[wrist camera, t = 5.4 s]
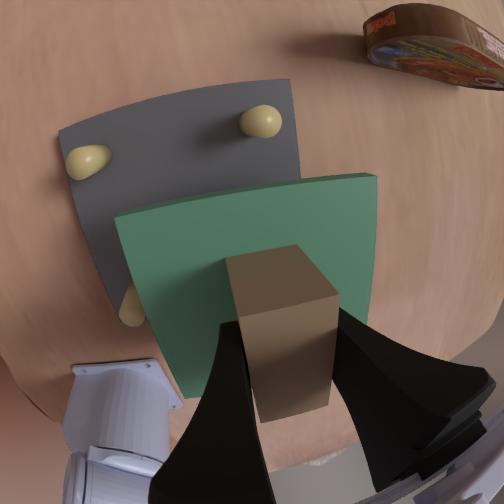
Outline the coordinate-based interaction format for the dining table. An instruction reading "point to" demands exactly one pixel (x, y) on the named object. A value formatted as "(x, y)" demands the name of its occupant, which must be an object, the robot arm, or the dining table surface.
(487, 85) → the tin
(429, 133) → the dining table surface
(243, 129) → the chassis
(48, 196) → the dining table surface
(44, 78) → the dining table surface
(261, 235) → the board
